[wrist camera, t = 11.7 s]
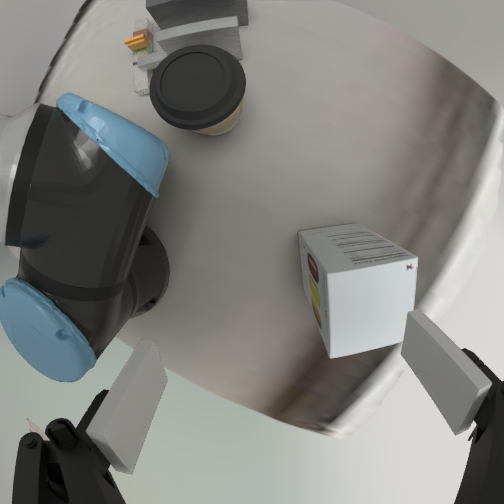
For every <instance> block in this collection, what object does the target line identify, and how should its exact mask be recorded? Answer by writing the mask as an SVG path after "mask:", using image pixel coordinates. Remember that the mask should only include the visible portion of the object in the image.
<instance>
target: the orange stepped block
mask: <svg viewBox="0 0 504 504" xmlns="http://www.w3.org/2000/svg"><path fill="white" fill-rule="evenodd" d="M124 43H125V44H126V45H127V46H128V47H129V48H130V49H131V50H132V51H135V50H138V49H141V48H145V47H148V46H149V39H148V38H147V37H146V36H145V35H144V34H141V35H138V36H135V37H132V38H129V39H126V40H124Z"/></svg>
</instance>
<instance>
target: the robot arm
mask: <svg viewBox="0 0 504 504" xmlns="http://www.w3.org/2000/svg"><path fill="white" fill-rule="evenodd" d="M56 105H57V107H51V106H47V105H44V104H40V103H36V104H34V105H32V106H31V107H29V108H28V109H26V110H25V111H23V112H21V113H20V114H18V115H16V116H8V115H4V114H0V242H1V244H3V245H9V246H16V247H21V250H20V260H19V272H18V275H17V276H16V278H10V279H8V280H7V281H6V283H5V285H3V286H2V287H1V288H0V320H1V323H2V326H3V328H4V330H5V332H6V334H7V336H8V338H9V340H10V341H11V343H12V344H13V345H14V347H15V348H16V350H17V351H18V352H19V354H20V355H21V356H22V357H23V358H24V359H25V360H26V361H27V362H28V363H29V364H30V365H31V366H32V367H33V368H35V369H36V370H37V371H39V372H40V373H42V374H43V375H45V376H47V377H49V378H51V379H53V380H56V381H59V382H75V381H77V380H79V379H81V378H82V377H83V376H84V375H85V373H86V372H87V371H88V370H89V369H91V368H93V367H94V365H95V363H96V360H97V359H98V358H99V356H100V355H101V354H102V353H103V351H104V350H105V348H106V347H107V346H108V345H109V343H110V342H111V341H112V339H113V338H114V337H115V336H116V334H117V333H118V332H119V331H120V329H121V328H122V327H123V326H124V324H125V323H126V322H127V320H128V319H130V318H133V317H136V316H138V315H141V314H144V313H146V312H147V311H149V310H150V309H152V308H153V307H154V306H155V305H156V304H157V303H158V301H159V300H160V299H161V297H162V296H163V294H164V293H165V291H166V288H167V285H168V281H169V262H168V258H167V255H166V252H165V249H164V247H163V245H162V244H161V242H160V240H159V239H158V238H157V236H156V235H155V234H154V233H153V232H152V231H151V230H150V229H149V228H147V227H146V226H145V225H146V222H147V220H148V217H149V214H150V212H151V209H152V207H153V204H154V201H155V199H156V198H157V199H158V197H159V191H158V190H159V187H160V184H161V181H162V179H163V176H164V173H165V170H166V168H167V165H168V162H169V152H168V149H167V147H166V145H165V144H164V142H163V141H162V140H160V139H159V138H158V137H156V136H155V135H153V134H151V133H150V132H148V131H146V130H145V129H143V128H141V127H140V126H138V125H136V124H134V123H133V122H131V121H129V120H127V119H125V118H123V117H121V116H120V115H118V114H116V113H114V112H112V111H110V110H108V109H106V108H104V107H101V106H99V105H97V104H94V103H92V102H90V101H88V100H85V99H83V98H82V97H80V96H77V95H75V94H72V93H65V94H63V95H62V96H61V98H60V99H58V100H57V102H56ZM401 355H402V356H403V358H404V359H405V361H406V362H407V363H408V365H409V366H410V368H411V369H412V371H413V372H414V373H415V375H416V376H417V378H418V379H419V380H420V382H421V384H422V385H423V386H424V388H425V389H426V391H427V392H428V394H429V395H430V397H431V398H432V400H433V401H434V403H435V404H436V406H437V407H438V409H439V411H440V412H441V413H442V415H443V417H444V418H445V420H446V421H447V423H448V425H449V426H450V428H451V429H452V431H453V432H454V434H455V435H458V434H460V433H462V432H463V431H466V430H468V429H469V427H470V426H471V424H472V422H473V420H474V421H475V422H476V424H477V425H476V427H475V429H474V430H473V432H472V434H471V435H470V437H469V439H468V441H470V440H471V438H472V437H473V439H472V444H471V448H470V453H469V457H468V461H467V465H466V468H465V472H464V475H463V479H462V482H461V485H460V488H459V491H458V494H457V497H456V500H455V502H454V504H504V381H501V380H499V378H498V377H497V376H496V375H495V374H494V373H493V372H492V371H491V370H490V369H489V368H488V367H487V366H486V365H484V363H483V362H482V361H481V360H479V358H478V357H477V356H476V355H475V354H474V353H473V352H471V351H469V350H467V349H466V348H464V349H460V348H459V347H458V346H457V345H456V344H455V343H454V342H453V341H452V340H451V339H450V338H449V337H448V336H447V335H446V334H445V333H444V332H443V331H441V329H440V328H439V327H438V326H437V325H436V324H435V323H434V322H432V321H431V320H430V319H429V318H428V317H427V316H426V315H425V314H424V313H423V312H422V311H421V310H420V309H417V310H413V311H408V313H407V320H406V327H405V333H404V339H403V345H402V350H401ZM167 381H168V379H167V376H166V373H165V370H164V367H163V364H162V361H161V358H160V355H159V352H158V349H157V346H156V343H155V340H154V339H141V341H140V342H139V344H138V345H137V347H136V349H135V350H134V352H133V353H132V355H131V357H130V358H129V360H128V361H127V363H126V365H125V366H124V368H123V369H122V371H121V373H120V374H119V376H118V377H117V379H116V381H115V382H114V384H113V386H112V387H111V389H110V390H103V391H101V392H100V393H99V394H98V395H96V397H95V398H94V400H93V402H92V403H91V405H90V406H89V408H88V411H86V413H85V414H84V416H83V418H82V419H81V421H80V422H79V424H78V426H77V427H76V429H75V427H74V426H73V424H72V423H71V421H69V420H68V419H64V418H59V419H55V420H53V421H51V422H50V423H49V424H48V425H47V427H46V429H45V434H46V436H47V437H48V438H49V439H50V441H45V440H43V438H42V437H41V436H40V434H38V433H36V432H30V433H27V434H26V435H24V436H23V437H22V438H21V440H20V442H19V447H18V453H17V459H16V466H15V474H14V483H13V494H12V504H126V503H125V501H124V499H123V497H122V495H121V493H120V491H119V489H118V487H117V485H116V483H115V481H114V479H113V477H112V475H111V473H110V472H109V470H108V468H109V466H110V464H111V465H112V466H113V468H114V469H115V470H116V471H119V472H123V473H127V474H132V473H133V471H134V468H135V465H136V463H137V460H138V457H139V454H140V452H141V449H142V446H143V443H144V441H145V438H146V435H147V433H148V430H149V427H150V425H151V422H152V419H153V417H154V414H155V411H156V409H157V406H158V404H159V401H160V399H161V396H162V394H163V391H164V389H165V386H166V383H167Z"/></svg>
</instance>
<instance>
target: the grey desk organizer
mask: <svg viewBox="0 0 504 504" xmlns="http://www.w3.org/2000/svg"><path fill="white" fill-rule="evenodd" d="M146 9H147V10H148V11H149V13H150V14H151V16H152V17H153V18H154V20H155V21H156V23H157V24H158V25H159V27H160V28H161V30H164V29H168V28H172V27H177V26H181V25H185V24H190V23H195V22H200V21H206V20H212V19H218V18H225V17H233V16H237V21H238V26H245V25H248V10H247V0H146ZM141 34H144V35H145V36H146V37H147V38H148V39H149V46H148V47H145V48H141V49H138V50H135V51H133V54H134V63H133V65H134V86H135V92H136V93H138V94H139V95H141V96H142V95H146V94H150V93H149V86H150V80H151V77H152V75H153V69H149V70H145V71H142V70H141V69H139V68H138V67H137V58H138V57H141V56H144V55H148V54H151V53H153V35H152V23H151V22H150V20H149V19H148V18H144V19H141V20H138V21H135V32H133V37H135V36H138V35H141Z"/></svg>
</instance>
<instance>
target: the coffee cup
mask: <svg viewBox="0 0 504 504" xmlns="http://www.w3.org/2000/svg"><path fill="white" fill-rule="evenodd" d="M245 87H246V79H245V73H244V70H243V68H242V66H241V64H240V63H239V61H238V60H237V59H236V58H235V57H234V56H233V55H232V54H230V53H229V52H227V51H226V50H223V49H221V48H219V47H216V46H212V45H203V44H199V45H191V46H186V47H183V48H180V49H178V50H176V51H174V52H172V53H171V54H169V55H168V56H167V57H165V58H164V59H163V60H162V61H161V62H160V63H159V65H158V66H157V67H156V69H155V71H154V72H153V75H152V77H151V80H150V86H149V93H150V98H151V102H152V104H153V106H154V107H155V109H156V111H157V113H158V114H159V115H160V117H161V118H162V119H163V120H165V121H166V122H167V123H169V124H171V125H173V126H175V127H177V128H181V129H186V130H189V131H193V132H197V133H201V134H206V135H212V136H216V135H221V134H224V133H227V132H228V131H230V130H231V129H232V128H233V127H234V126H235V125H236V124H237V122H238V120H239V117H240V113H241V110H242V104H243V96H244V92H245Z"/></svg>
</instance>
